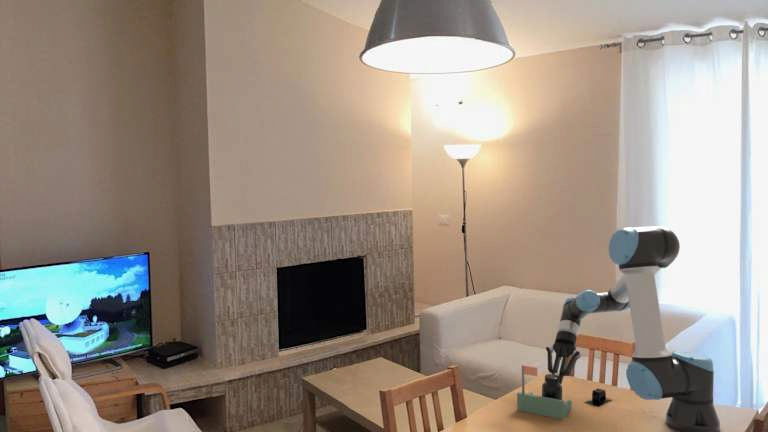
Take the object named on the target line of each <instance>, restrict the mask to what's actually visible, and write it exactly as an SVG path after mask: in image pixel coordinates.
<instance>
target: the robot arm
mask: <svg viewBox="0 0 768 432" xmlns="http://www.w3.org/2000/svg"><path fill="white" fill-rule="evenodd" d="M679 252H680V241H679V238H678V237H677V235H676V234H675V233H674V231H672V230H671V229H669V228H667V227H665V226H661V225H659V226H658V225H657V226H656V225H655V226H654V225H653V226H635V227H634V226H632V227H631V226H630V227H624V228H620V229H618V230H616V231H614V232H613V234H612V236H611V237H610V240H609V243H608V255H609V258H610V259H611V261H612V262H613V264H616V265H618V270H619V272H621V273H622V274H623V275H622V276H621V277H620V278H619V280H618V281H616V282H615V283H614V285H613V286H612V287H611V288H610V289H609V290H608V291H605V292H602V291H601V292H596V291H594V290H591V289H586V290H583V291H582V292H580V293H579V294H577V296H576V297H575V296H574V297H568V298H566V299H565V301H564V304H563V306H562V311H561V316H560V320H559V325H558V328H557V333H556V337H555V340H554V343H553V345H552V346H550V347H549V346H546V347H545V351H546V353H547V370H548V372H549V374H555V375H558V376H559V384H561V385H562V383H563V379H564V377H569V376H570V374H571V372H572V370H573V368H574V367H575V365H576V363H577V361H578V360H579V359H580V358H581V356H582V355H581V353H580V351H579V350H578V351H577V350H576V345H577V340H578V335H579V331H580V327H581V324H582V319H584V318H585V317H586V316H588V315H590V314H599V313H608V312H611V313H612V312H622V311H626V310H629V309H630V318H631V323H632V330H633V337H634V344H635V351H634V352H633V353H632V355H631V359H632V362H630V363H629V364H628V365H627V368H626V370H625V371H626V372H625V373H626V375H625V377H626V379H627V382H628V385H629V387H630V389H631V390H632V391H633V392H634V393H635V395H636V396H637V397H639V398H641V399H642V400H645V401H649V400H655V401H659V400H661V399H669V398H671V400H670V404H669V406H668V408H667V410H666V414H665V417H666V419H665V420H666V423H667V425H668V426H670V427H671V428H672V429H675V430H677V431H681V432H719V431H720V429H721V422H720V418H719V416H718V414H717V411H716V407H715V405H714V375H715V374H714V373H715V370H714V363H713V360H712V358H710V357H708V356H706V355H704V354H702V353H697V352H693V351H688V350H674V351H672V352H671V351H669V350H668V349H667V348H666V342H665V335H664V330H663V323H662V317H661V309H660V303H659V296H658V290H657V285H656V284H657V283H656V278H655V277H656V276H655V275H657V273H658V272H659V271H660V270H662V269H666V268H668V267H670V265H671V264H672V263H673V262H674V261H675V259H676V258H677V257H678V255H679ZM553 352H554V353H555V357H554V358H555V359H554V363H553ZM569 357H571V358H570V360H569ZM568 361H569V362H568ZM560 363H561V364H560Z"/></svg>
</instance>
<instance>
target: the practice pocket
mask: <svg viewBox="0 0 768 432" xmlns="http://www.w3.org/2000/svg"><path fill="white" fill-rule="evenodd" d="M525 375H527V376H531V377H532V376H533V377H538V367H536V366H535V367H534V366H530V365H524V364H522V365H521V391H518V392H517V393H516V399H517V400H516V401H517V403H516V404H517V405H516V406H517V407H516V408H517V411H520V412H525V413H530V414H535V415H539V416H545V417H548V418H554V419H556V420H557V419H558V420H562V421H563V420H564V419H565V418H566V416H567V415H568V414H569V412H570V411H571V410H572V407H573V406H572V403H573V402H572V400H571V399H567V401H566V402H565V400H563V399H562V400H558V399H553V398H548V397H543V396H542V395H536V394H533V392H525Z"/></svg>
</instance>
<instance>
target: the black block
mask: <svg viewBox="0 0 768 432" xmlns="http://www.w3.org/2000/svg"><path fill="white" fill-rule="evenodd" d="M612 401H613V399H610V398H607V393H606V389H602V388H596V389H593V390H592V393H591V399H590V400H587V401H585V402H584V403H585V404H587V405H590V406H594V407H599V408H601V407H602V406H604V405H606V404H607V403H610V402H612Z"/></svg>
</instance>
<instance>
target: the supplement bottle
mask: <svg viewBox="0 0 768 432" xmlns="http://www.w3.org/2000/svg"><path fill="white" fill-rule="evenodd" d="M541 396H543V397H548V398H553V399H558V400H563V386H562V384H559V376H558V375H555V374H552V373H548V374H545V375H544V381H543V383H542V385H541Z"/></svg>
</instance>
